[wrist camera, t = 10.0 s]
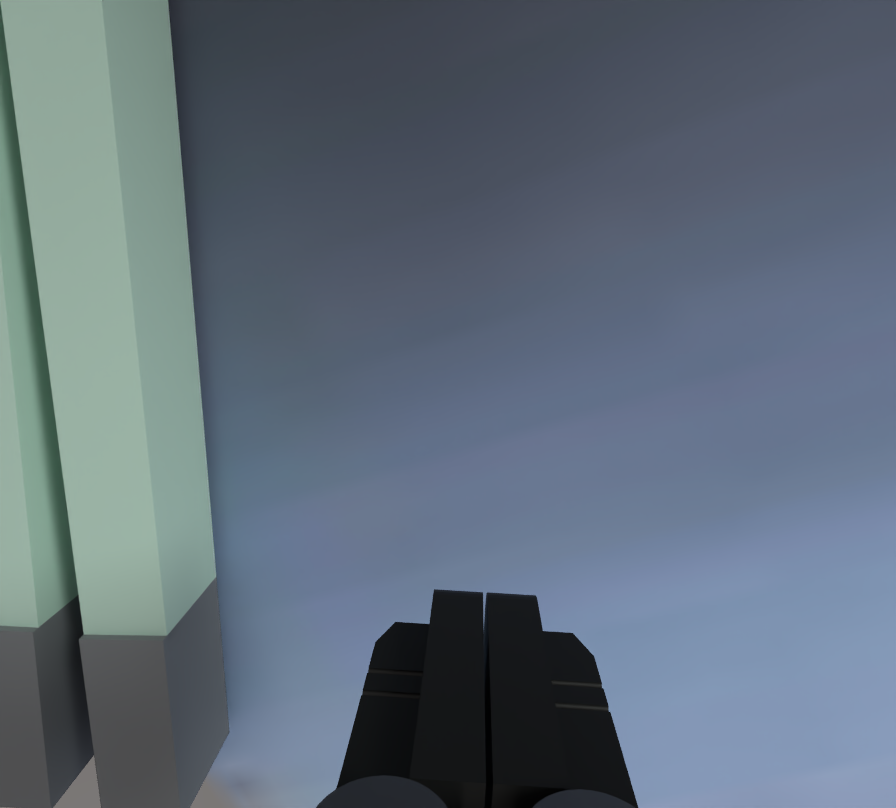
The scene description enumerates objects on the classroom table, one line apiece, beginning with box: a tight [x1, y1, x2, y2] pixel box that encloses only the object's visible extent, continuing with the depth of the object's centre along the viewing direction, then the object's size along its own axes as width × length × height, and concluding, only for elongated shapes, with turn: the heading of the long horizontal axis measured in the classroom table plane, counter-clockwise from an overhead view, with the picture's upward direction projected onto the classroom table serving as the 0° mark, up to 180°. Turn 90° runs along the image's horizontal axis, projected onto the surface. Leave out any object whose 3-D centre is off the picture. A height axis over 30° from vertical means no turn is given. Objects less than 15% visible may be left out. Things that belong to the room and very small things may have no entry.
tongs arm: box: [0, 0, 229, 808], centre depth 14 cm, size 28×5×5 cm, turn 0°
